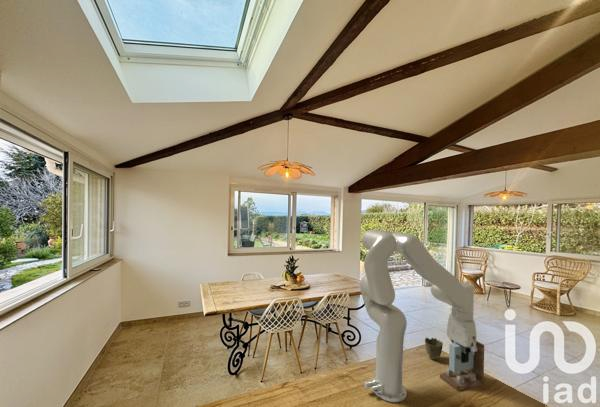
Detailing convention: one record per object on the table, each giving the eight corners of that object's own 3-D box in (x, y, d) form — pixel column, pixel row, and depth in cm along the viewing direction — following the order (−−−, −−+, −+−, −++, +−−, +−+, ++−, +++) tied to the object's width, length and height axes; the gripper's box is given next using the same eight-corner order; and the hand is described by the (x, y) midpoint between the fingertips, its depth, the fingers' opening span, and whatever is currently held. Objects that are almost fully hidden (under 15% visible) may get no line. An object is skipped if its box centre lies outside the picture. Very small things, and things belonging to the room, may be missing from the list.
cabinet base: (456, 390, 101) (457, 349, 101) (439, 377, 109) (440, 339, 109) (484, 384, 105) (484, 344, 106) (465, 372, 113) (466, 335, 113)
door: (456, 373, 103) (456, 348, 104) (449, 369, 106) (449, 343, 107) (475, 369, 107) (475, 344, 107) (467, 365, 110) (468, 340, 110)
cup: (438, 354, 126) (438, 337, 126) (445, 363, 119) (445, 345, 119) (422, 353, 127) (422, 336, 127) (427, 362, 119) (428, 344, 119)
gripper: (438, 307, 114) (438, 350, 113) (473, 323, 98) (472, 373, 98) (452, 306, 116) (451, 348, 116) (488, 321, 101) (487, 370, 100)
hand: (461, 359), depth 107 cm, fingers closed on door, 2 cm apart
